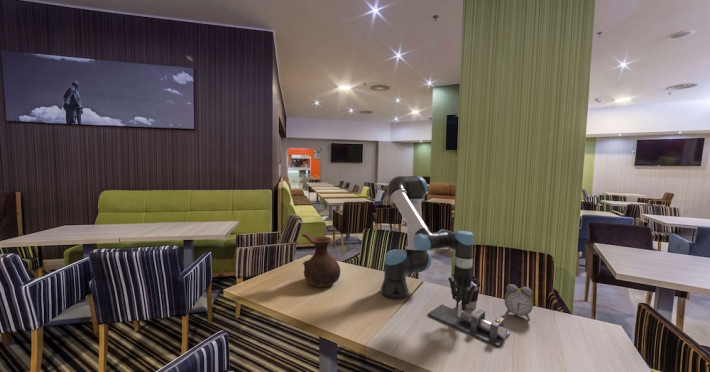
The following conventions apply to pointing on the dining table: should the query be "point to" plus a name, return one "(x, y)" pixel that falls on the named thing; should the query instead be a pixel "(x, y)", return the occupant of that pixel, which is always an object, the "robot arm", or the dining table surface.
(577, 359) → the dining table surface
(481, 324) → the tube
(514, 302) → the alarm clock
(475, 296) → the coffee cup
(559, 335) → the dining table surface
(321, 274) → the jug
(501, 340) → the grey holder stand
